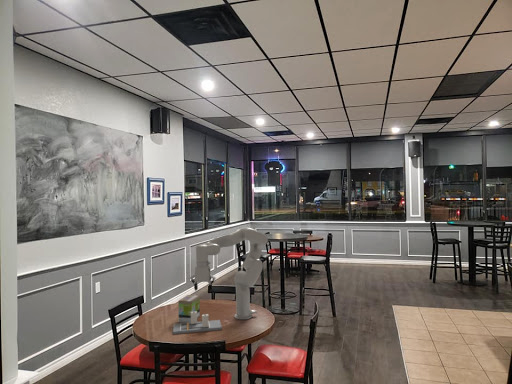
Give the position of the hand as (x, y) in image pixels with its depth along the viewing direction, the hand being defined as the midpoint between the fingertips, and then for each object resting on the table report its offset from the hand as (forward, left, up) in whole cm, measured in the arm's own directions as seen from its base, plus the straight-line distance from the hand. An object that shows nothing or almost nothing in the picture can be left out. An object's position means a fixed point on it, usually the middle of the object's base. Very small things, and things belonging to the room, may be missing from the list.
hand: (203, 290), depth 228 cm
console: (+4, +2, -23) cm, 24 cm away
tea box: (+9, -17, -24) cm, 30 cm away
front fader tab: (-1, +6, -21) cm, 22 cm away
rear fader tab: (+6, -2, -21) cm, 22 cm away
